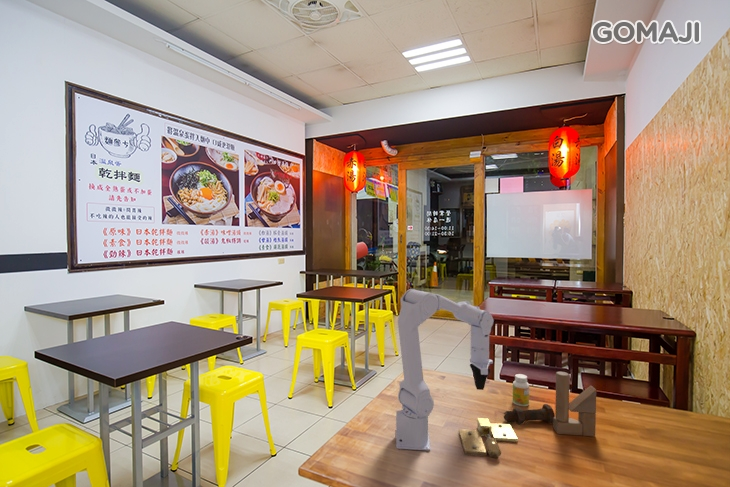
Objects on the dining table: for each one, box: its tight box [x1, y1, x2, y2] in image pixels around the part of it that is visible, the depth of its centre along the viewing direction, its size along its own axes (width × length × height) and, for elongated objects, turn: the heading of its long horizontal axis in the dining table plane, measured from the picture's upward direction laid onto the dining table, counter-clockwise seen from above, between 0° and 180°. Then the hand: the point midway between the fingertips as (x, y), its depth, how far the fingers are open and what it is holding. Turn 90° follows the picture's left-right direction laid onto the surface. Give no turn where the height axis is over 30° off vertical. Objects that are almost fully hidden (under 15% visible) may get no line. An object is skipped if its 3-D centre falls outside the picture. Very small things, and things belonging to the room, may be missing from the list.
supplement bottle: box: [512, 373, 530, 407], centre depth 129 cm, size 5×5×10 cm
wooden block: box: [552, 371, 597, 438], centre depth 110 cm, size 4×11×18 cm, turn 82°
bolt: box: [502, 403, 555, 425], centre depth 117 cm, size 6×5×15 cm
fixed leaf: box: [458, 428, 502, 459], centre depth 104 cm, size 9×12×3 cm
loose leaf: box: [476, 417, 519, 443], centre depth 110 cm, size 10×8×3 cm
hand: (479, 388), depth 118 cm, fingers closed
